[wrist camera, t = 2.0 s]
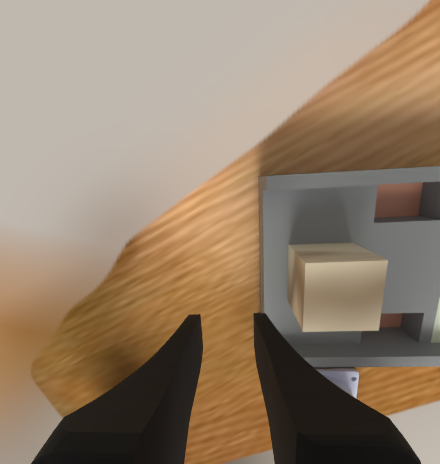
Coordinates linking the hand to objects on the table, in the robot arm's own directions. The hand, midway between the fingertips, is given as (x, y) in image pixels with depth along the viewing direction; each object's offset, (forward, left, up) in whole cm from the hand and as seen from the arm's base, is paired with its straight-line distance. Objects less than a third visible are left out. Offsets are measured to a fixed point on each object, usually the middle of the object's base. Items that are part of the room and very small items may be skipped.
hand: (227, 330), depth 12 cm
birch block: (0, -8, -7) cm, 10 cm away
